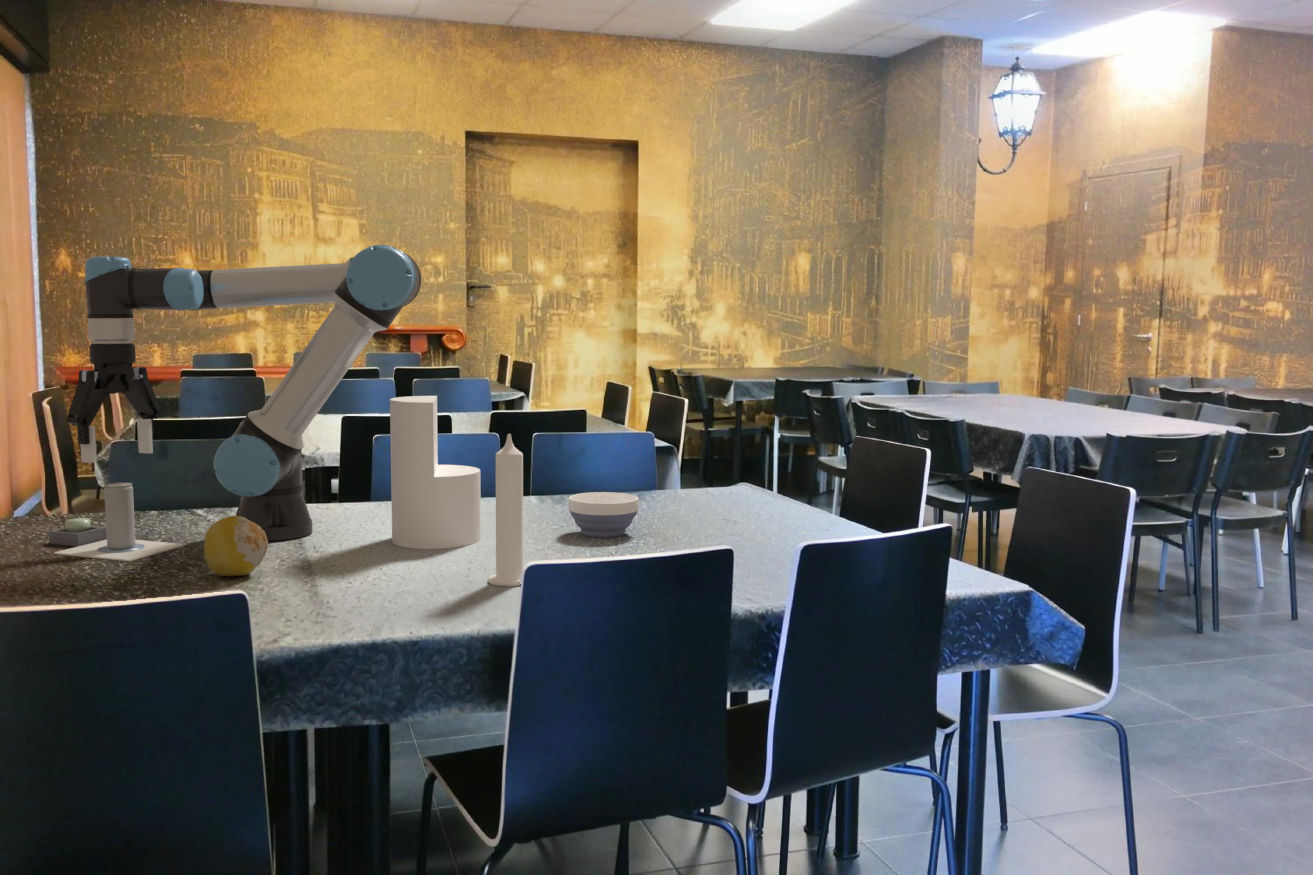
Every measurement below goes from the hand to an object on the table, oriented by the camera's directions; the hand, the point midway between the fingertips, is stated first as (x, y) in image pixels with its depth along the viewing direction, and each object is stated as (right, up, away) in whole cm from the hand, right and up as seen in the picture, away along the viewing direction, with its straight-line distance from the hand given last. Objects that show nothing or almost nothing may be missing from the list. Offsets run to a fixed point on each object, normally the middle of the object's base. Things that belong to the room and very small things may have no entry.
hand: (118, 457), depth 200 cm
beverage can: (0, -17, +2) cm, 17 cm away
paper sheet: (0, -17, +2) cm, 17 cm away
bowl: (+89, -16, +22) cm, 93 cm away
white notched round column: (+56, -17, +15) cm, 60 cm away
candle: (+75, -21, -18) cm, 80 cm away
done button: (-12, -14, +8) cm, 20 cm away
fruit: (+28, -20, -16) cm, 38 cm away
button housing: (-12, -16, +9) cm, 22 cm away
